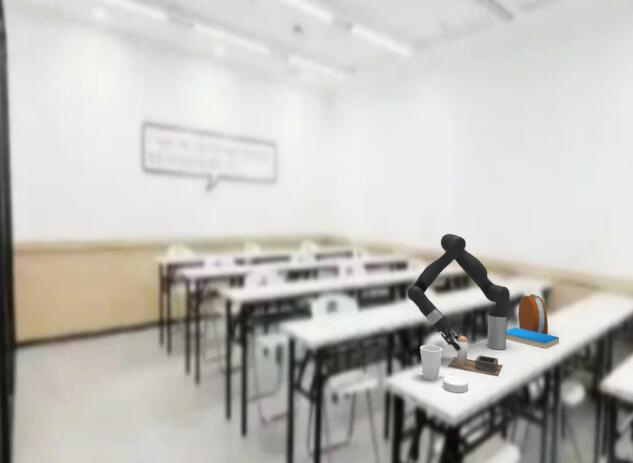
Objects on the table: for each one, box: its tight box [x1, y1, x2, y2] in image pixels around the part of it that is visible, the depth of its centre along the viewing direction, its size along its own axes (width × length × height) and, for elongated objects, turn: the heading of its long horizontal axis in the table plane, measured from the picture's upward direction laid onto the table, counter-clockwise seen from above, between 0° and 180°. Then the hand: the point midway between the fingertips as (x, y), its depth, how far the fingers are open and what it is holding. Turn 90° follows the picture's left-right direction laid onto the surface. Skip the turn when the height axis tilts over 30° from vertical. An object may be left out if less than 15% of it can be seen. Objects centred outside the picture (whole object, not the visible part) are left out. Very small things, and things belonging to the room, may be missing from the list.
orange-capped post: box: [456, 335, 468, 365], centre depth 211 cm, size 4×4×13 cm
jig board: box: [447, 354, 504, 377], centre depth 208 cm, size 16×22×5 cm
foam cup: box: [419, 344, 443, 381], centre depth 197 cm, size 10×9×13 cm
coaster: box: [442, 375, 469, 394], centre depth 186 cm, size 10×10×4 cm
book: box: [506, 327, 560, 350], centre depth 253 cm, size 17×4×25 cm
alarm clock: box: [517, 293, 549, 335], centre depth 270 cm, size 22×10×23 cm, turn 179°
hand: (461, 347), depth 211 cm, fingers open, 8 cm apart
